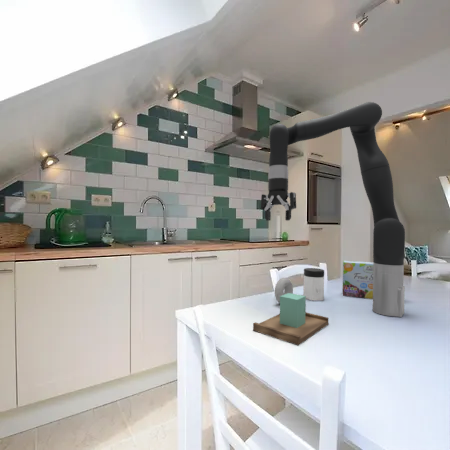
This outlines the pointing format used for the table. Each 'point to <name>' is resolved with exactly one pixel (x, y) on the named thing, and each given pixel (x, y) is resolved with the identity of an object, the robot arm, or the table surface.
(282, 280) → the donut
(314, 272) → the jar
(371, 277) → the snack box
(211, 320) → the table surface
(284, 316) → the block
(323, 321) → the board
